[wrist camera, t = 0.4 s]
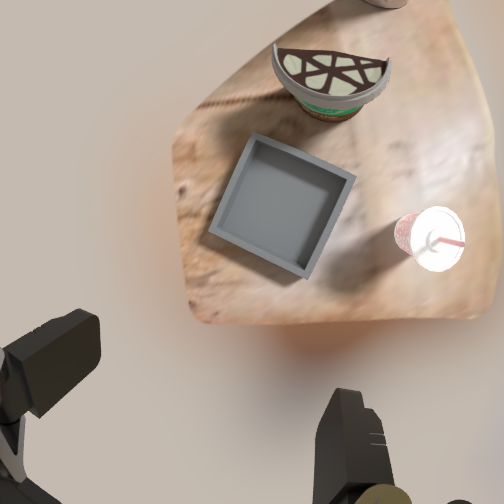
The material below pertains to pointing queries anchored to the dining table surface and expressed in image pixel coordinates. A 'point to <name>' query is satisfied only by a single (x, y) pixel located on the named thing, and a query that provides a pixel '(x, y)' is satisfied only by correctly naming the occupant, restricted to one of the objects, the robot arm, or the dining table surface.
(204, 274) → the dining table surface
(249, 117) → the dining table surface
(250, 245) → the tray
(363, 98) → the food container
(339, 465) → the robot arm
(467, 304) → the dining table surface
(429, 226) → the beverage cup
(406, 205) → the dining table surface
